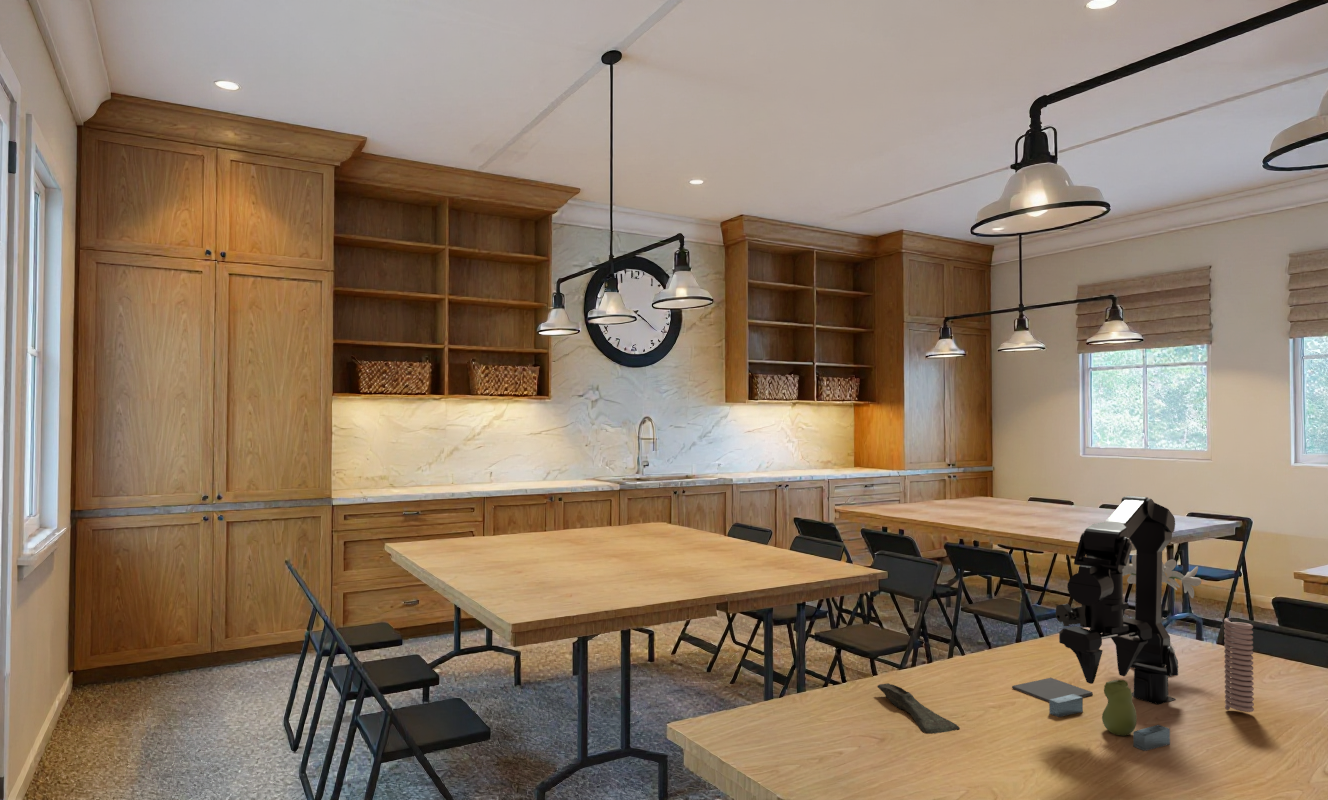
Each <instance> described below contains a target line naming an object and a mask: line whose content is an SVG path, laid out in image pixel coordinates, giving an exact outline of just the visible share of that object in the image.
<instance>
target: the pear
mask: <svg viewBox="0 0 1328 800" xmlns="http://www.w3.org/2000/svg"><path fill="white" fill-rule="evenodd" d="M1103 693H1104V696H1105V697H1106V699H1107V704H1106V706H1105V708H1104V710H1103V711H1102V714H1101V720H1102V724H1103V726H1104V727H1105V729H1106V730H1107V731H1108V732H1110V733H1111V734H1114V735H1116V736H1121V737H1123V736H1124V737H1125V736H1128V735H1130V734H1133V732H1134V731H1135V729H1136V727H1137V726H1136V725H1137V711H1136V707H1135V704H1134V703H1133V697H1132V690H1131V688H1129V684H1128V682H1127V680H1124V679H1116V680H1115V679H1113V680H1111V681H1109V680H1108V681H1106V682H1105V685H1104V686H1103Z"/></svg>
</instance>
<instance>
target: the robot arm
mask: <svg viewBox="0 0 1328 800" xmlns="http://www.w3.org/2000/svg"><path fill="white" fill-rule="evenodd" d="M1175 529H1176V519H1175V516H1174V515H1173V513H1172V512H1171V510H1169V508H1167V507H1166V506H1162V505H1160V504H1158V503H1156V502H1154V500H1153V499H1152V498H1149V497H1147V496H1136V495H1126V496H1122V498H1121V501H1120V504H1119V505H1118V506H1117V508H1116V509H1115V510H1114V511H1113V512H1111V514H1110V516H1108V517H1107V518H1106V520H1104V522H1098V523H1093V524H1091V525H1089V526H1088V527H1087V528H1085V530H1084V531H1083V532H1082V533H1081V535H1080V537H1079V541H1078V544H1077V545H1078V546H1077V549H1076V553H1075V555H1074V556H1075V557H1074V560H1073V565H1075V566H1078V572H1076V573H1074V574H1073V575H1072V576H1071V577H1070V578H1069V579H1068V581H1067V582H1068V583H1067V585H1066V587H1067V592H1068V594H1069V596H1070V598H1072V599H1073V600H1074V601H1075V602H1076V603H1078V604H1081V606H1077V607H1072V606H1071V605H1070V604H1069V603H1064V604H1057V605H1055V619H1056V620H1057V621H1058V622H1059V623H1062V625H1063V628H1062V629H1061V630H1060V631H1059V632H1058V642H1059V644H1062V645H1064V646H1065V647H1066V649H1070V650H1071V651H1072V652H1073V654H1075V656H1076V658H1077V660H1078V663H1079V665H1080V669H1081V670H1082V673H1083V676H1084V679H1085V682H1086V683H1088V684H1091V685H1094V682H1095V679H1096V676H1097V672H1098V668H1099V666H1100V663H1101V659H1102V656H1103V655H1102V654H1103V652H1104V651H1103V650H1102V649H1100V648H1101V646H1102V645H1103V640H1107V639H1111V640H1112V642H1113V644H1114V645H1115V650H1116V652H1115V653H1116V661H1117V670H1118V675H1119V676H1121V677H1126V676H1127V675H1128V673H1129V671H1130V669H1133V692H1132V691H1131V692H1132V698H1135V699H1137V700H1141V701H1145V702H1147V703H1149V704H1153V705H1157V706H1158V705H1162V704H1166V703H1171V702H1173V701H1176V700H1177V699H1176V698H1175V697H1171V696H1169V677H1171V678H1172V676H1173V677H1174V676H1175V677H1176V676H1179V661H1178V658H1177V655H1176V652H1175V653H1174V651H1173V648H1172V647H1171V646H1170V642H1171V637H1170V634H1169V633H1168V631H1167V629H1166V628H1165V626H1164V625H1163V623H1162V599H1163V598H1162V594H1163V593H1162V591H1163V590H1162V589H1163V588H1162V586H1163V582H1162V562H1163V551H1165V549H1166V547H1167V546H1168V545H1169V543H1171V541H1172V539H1173V533H1174V531H1175ZM1133 547H1134V549H1135V551H1136V552H1135V555H1136V584H1135V598H1134V599H1135V601H1134V602H1135V606H1134V608H1135V609H1134V610H1135V611H1134V612H1135V613H1134V618H1130V617H1125V616H1124V610H1127V609H1129V602H1124V585H1123V584H1124V576H1123V571H1122V569H1124V566H1126V564H1127V561H1128V558H1129V559H1130V555H1131V551H1132V549H1133ZM1078 624H1079V626H1076V625H1078ZM1069 625H1074V626H1070V627H1069ZM1087 628H1089V629H1087Z"/></svg>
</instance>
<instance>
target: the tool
mask: <svg viewBox="0 0 1328 800" xmlns="http://www.w3.org/2000/svg"><path fill="white" fill-rule="evenodd" d="M876 687H877V688H878V689H879V690H880V691H881V693H883V694H884V695H885V698H886V699H888V700H889V701H890V702H891V703H892V704H893V705H894V706H895V707H896V708H898V709H899V710H904V711H906V712H907V713H908V714H909V715H910V716H911V717H912V719H913V720H914V721H915V723H916V724H917V726H918V728H919V729H920V730H921V731H922V732H923V733H924V734H929V735H930V734H931V735H932V734H940V733H947V732H948V733H949V732H954V731H957V730H960V726H959V725H957V724H956V723H955V722H953V721H951V720H949V719H947V718H944V717H943V716H941V715H939V714H937V713H936V712H934V711H932V710H931V709H929V708H928V707H926V706H924V705H923V704H921V702H919V701H918V700H917V699H916V698H915V697H914V696H913V694H912V693H911V692H910V691H906V690H905V689H904V688H902V687H899V686H898V685H895V684H892V683H881V684H878V685H877V686H876Z"/></svg>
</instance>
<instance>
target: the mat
mask: <svg viewBox="0 0 1328 800" xmlns="http://www.w3.org/2000/svg"><path fill="white" fill-rule="evenodd" d="M1012 688H1013V690H1015V689H1016V690H1015V691H1018V692H1020V691H1021V693H1023V694H1026V695H1028V694H1029V695H1028V696H1032V697H1033V698H1034V697H1035V698H1036V699H1039V700H1042V701H1044V702H1048V703H1049V700H1050V699H1054V698H1058V697H1063V696H1067V695H1071V694H1075V695H1078V696H1080V697H1083V698H1086V697H1091V696H1093V693H1094V692H1093V691H1091V690H1087V689H1085V688H1081V687H1079V686H1076V685H1073V684H1071V683H1067V682H1064V681H1061V680H1058V679H1056V678H1053V677H1046V678H1043V679H1038V680H1037V679H1036V680H1032V681H1029V682H1025V683H1019V684H1015V685H1012V687H1011V689H1012Z"/></svg>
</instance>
